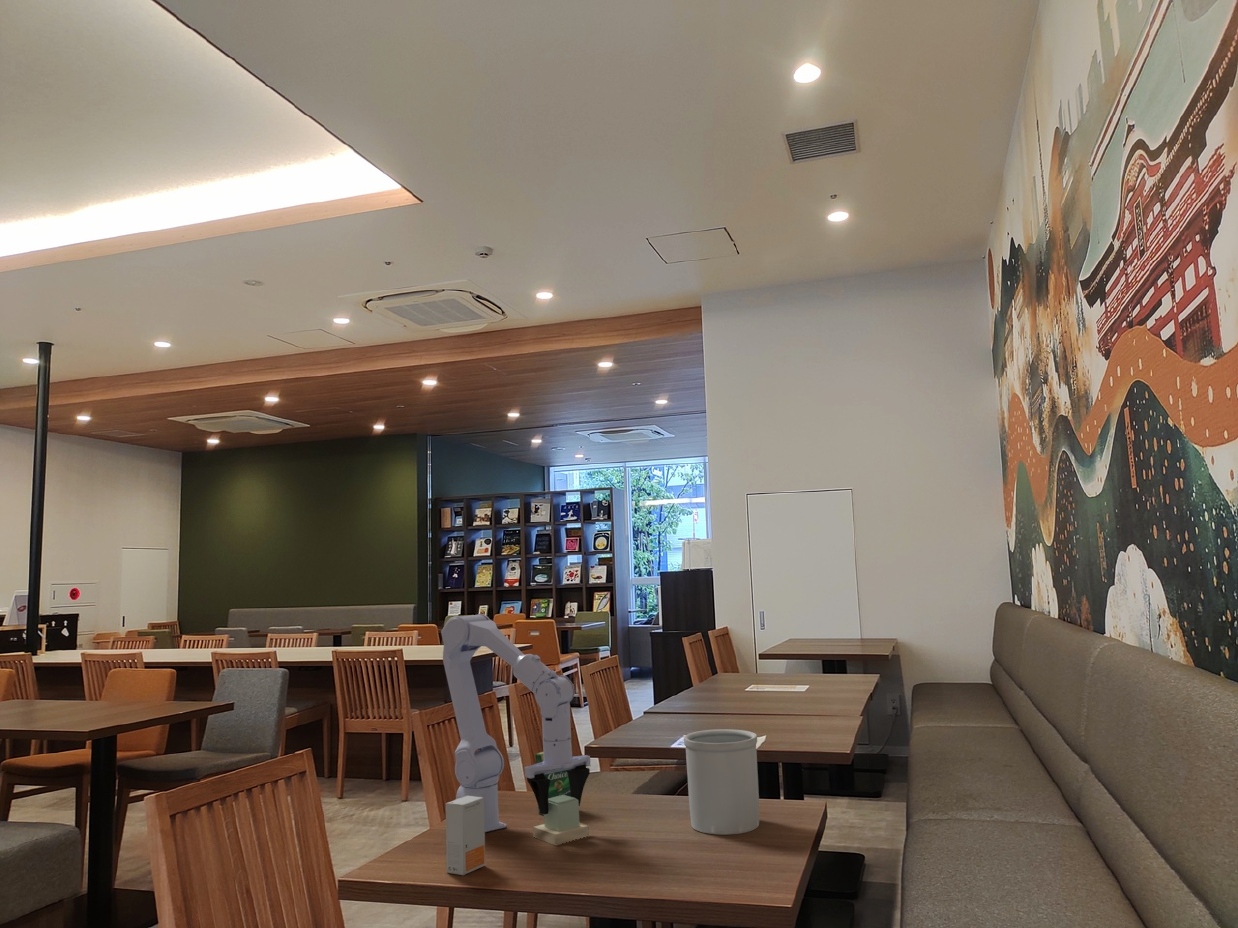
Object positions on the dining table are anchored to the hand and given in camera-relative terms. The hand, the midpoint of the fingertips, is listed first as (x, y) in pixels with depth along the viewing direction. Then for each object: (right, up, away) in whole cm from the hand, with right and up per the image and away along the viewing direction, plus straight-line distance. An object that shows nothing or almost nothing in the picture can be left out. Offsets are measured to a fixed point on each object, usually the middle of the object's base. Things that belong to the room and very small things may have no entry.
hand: (560, 809), depth 174 cm
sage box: (0, -3, -1) cm, 3 cm away
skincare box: (-15, -4, -18) cm, 24 cm away
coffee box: (-2, -8, +19) cm, 20 cm away
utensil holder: (+33, -4, +1) cm, 33 cm away
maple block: (0, -6, -1) cm, 6 cm away
